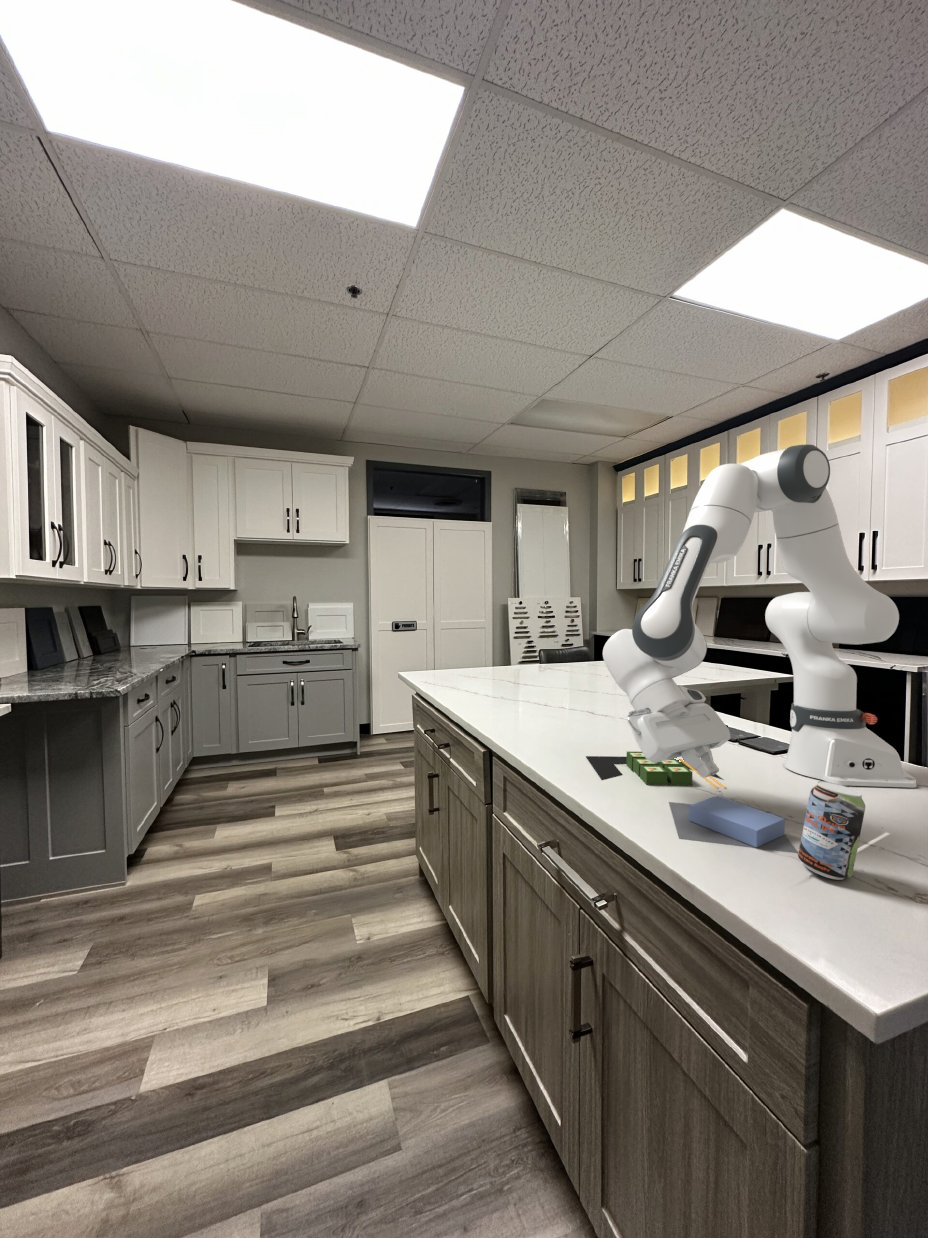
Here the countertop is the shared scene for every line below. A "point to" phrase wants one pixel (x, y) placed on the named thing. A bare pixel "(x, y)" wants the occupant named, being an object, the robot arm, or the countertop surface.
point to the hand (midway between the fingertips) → (711, 774)
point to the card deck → (737, 820)
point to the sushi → (648, 769)
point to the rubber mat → (704, 834)
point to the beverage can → (832, 830)
